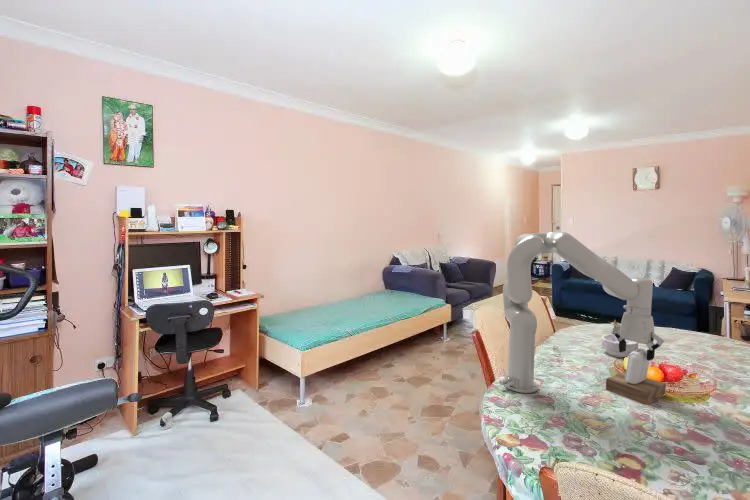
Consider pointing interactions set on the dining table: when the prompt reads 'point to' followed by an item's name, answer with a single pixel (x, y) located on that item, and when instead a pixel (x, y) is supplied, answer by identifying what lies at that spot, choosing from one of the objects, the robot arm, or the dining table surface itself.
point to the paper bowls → (617, 346)
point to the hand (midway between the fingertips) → (635, 355)
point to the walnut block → (636, 388)
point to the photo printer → (637, 366)
